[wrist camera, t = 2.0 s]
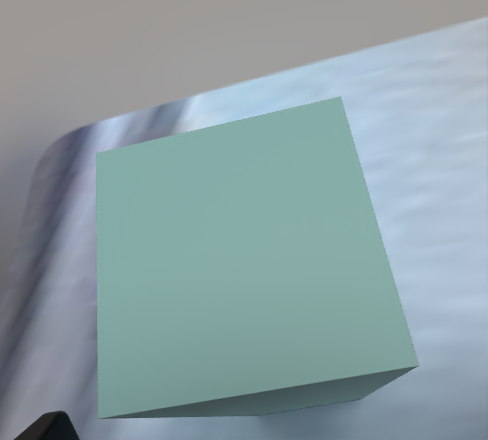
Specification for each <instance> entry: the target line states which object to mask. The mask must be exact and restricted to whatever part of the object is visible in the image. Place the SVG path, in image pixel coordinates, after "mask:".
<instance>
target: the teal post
mask: <svg viewBox="0 0 488 440" xmlns="http://www.w3.org/2000/svg"><path fill="white" fill-rule="evenodd" d="M96 223H97V335H98V419H109V418H160V417H212V416H258V415H264V414H270V413H276V412H283V411H289V410H295V409H301V408H308V407H314V406H320V405H326V404H333V403H339V402H345V401H351V400H358V399H362V398H363V397H365V396H367V395H369V394H370V393H372V392H374V391H376V390H377V389H379V388H381V387H383V386H384V385H386V384H388V383H390V382H391V381H393V380H395V379H396V378H398V377H400V376H402V375H403V374H405V373H407V372H409V371H410V370H412V369H414V368H416V367H417V366H419V365H418V361H417V358H416V354H415V351H414V347H413V344H412V341H411V337H410V334H409V330H408V327H407V323H406V320H405V316H404V313H403V310H402V306H401V303H400V299H399V296H398V292H397V289H396V285H395V282H394V279H393V275H392V272H391V268H390V265H389V261H388V258H387V254H386V251H385V248H384V244H383V241H382V237H381V234H380V230H379V227H378V223H377V220H376V217H375V213H374V210H373V206H372V203H371V199H370V196H369V192H368V189H367V186H366V182H365V179H364V175H363V172H362V168H361V165H360V161H359V158H358V155H357V151H356V148H355V144H354V141H353V137H352V134H351V130H350V127H349V124H348V120H347V117H346V113H345V110H344V106H343V103H342V99H341V97H337V98H332V99H328V100H324V101H319V102H315V103H311V104H306V105H302V106H298V107H294V108H289V109H285V110H281V111H276V112H272V113H268V114H263V115H259V116H255V117H250V118H246V119H242V120H238V121H233V122H229V123H225V124H220V125H216V126H212V127H207V128H203V129H199V130H194V131H190V132H186V133H181V134H177V135H173V136H169V137H164V138H160V139H156V140H151V141H147V142H143V143H138V144H134V145H130V146H125V147H121V148H117V149H113V150H108V151H104V152H100V153H96Z"/></svg>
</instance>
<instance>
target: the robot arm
mask: <svg viewBox="0 0 488 440" xmlns="http://www.w3.org/2000/svg"><path fill="white" fill-rule="evenodd" d="M14 440H80V439H79V437H78V435H77V433H76V430H75V428H74V426H73V424H72V422H71V420H70V418H69V416H68V414H67V413H66V412H64V411H55V412H49V413H45V414H43V415H42V416H41V417H40V418H38V419H37V420H36V421H35V422H34V423H33V424H31V425H30V426H29V427H28V428H27V429H26V430H25V431H23V432H22V433H21V434H20V435H19V436H18V437H16V438H15V439H14Z"/></svg>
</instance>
